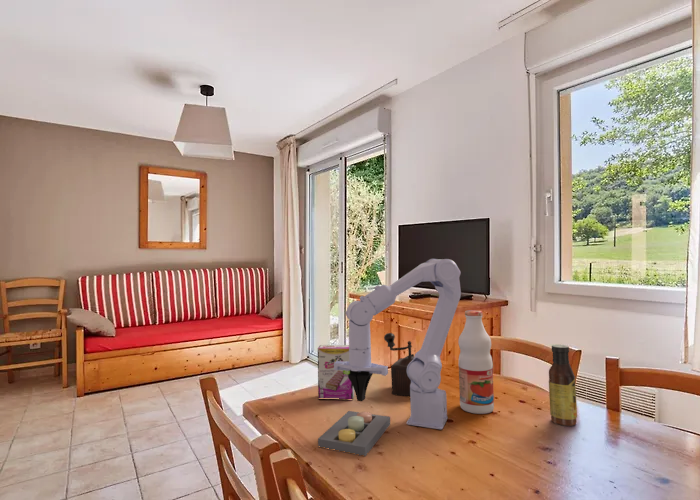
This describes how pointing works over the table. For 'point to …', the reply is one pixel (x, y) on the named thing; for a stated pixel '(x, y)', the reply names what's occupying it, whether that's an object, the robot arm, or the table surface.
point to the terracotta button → (366, 416)
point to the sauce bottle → (562, 388)
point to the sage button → (356, 423)
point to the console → (362, 440)
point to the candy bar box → (333, 373)
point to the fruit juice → (475, 366)
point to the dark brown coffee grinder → (400, 369)
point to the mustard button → (347, 435)
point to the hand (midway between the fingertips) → (361, 399)
